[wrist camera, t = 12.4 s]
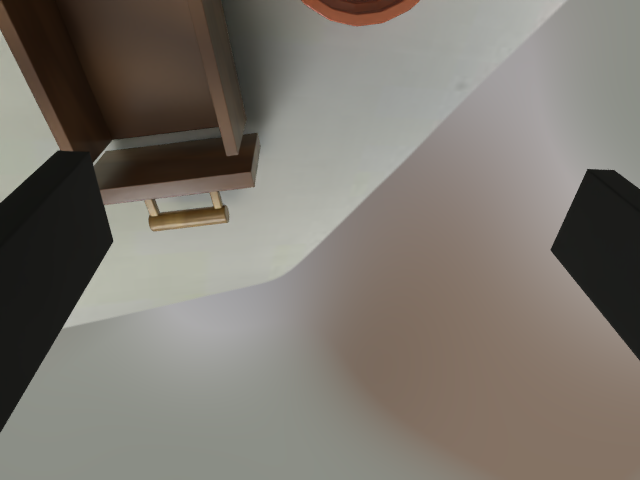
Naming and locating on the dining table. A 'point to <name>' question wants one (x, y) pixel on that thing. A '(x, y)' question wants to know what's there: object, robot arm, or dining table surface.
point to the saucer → (360, 10)
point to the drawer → (139, 95)
